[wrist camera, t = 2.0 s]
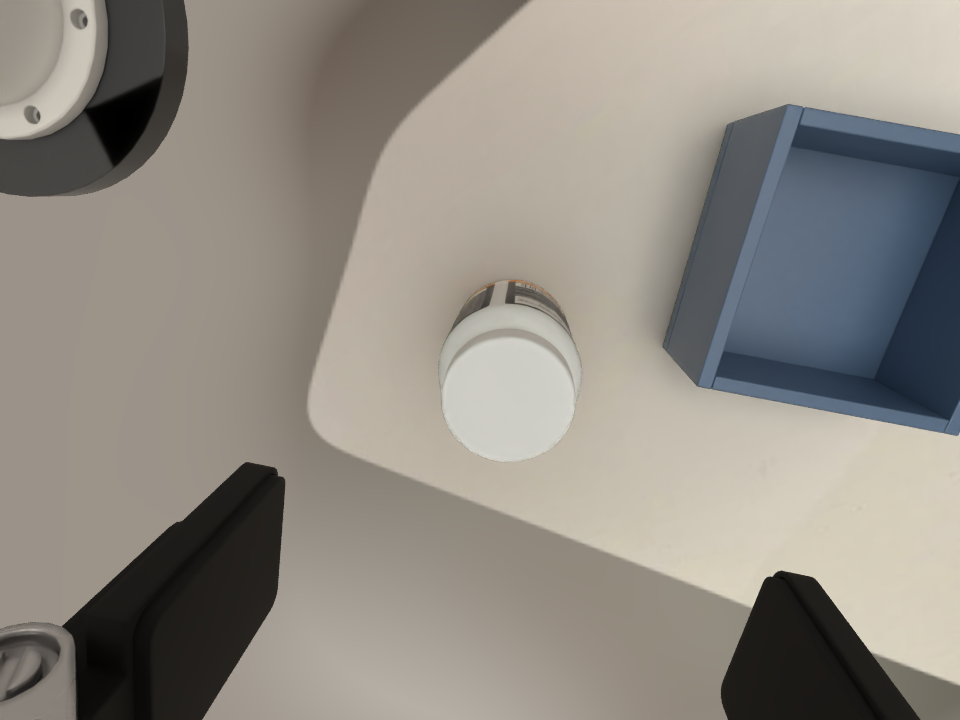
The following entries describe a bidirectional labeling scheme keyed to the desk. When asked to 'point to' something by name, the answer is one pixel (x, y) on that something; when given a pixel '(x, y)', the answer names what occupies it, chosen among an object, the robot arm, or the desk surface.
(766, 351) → the bin
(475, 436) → the pill bottle
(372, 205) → the desk surface
